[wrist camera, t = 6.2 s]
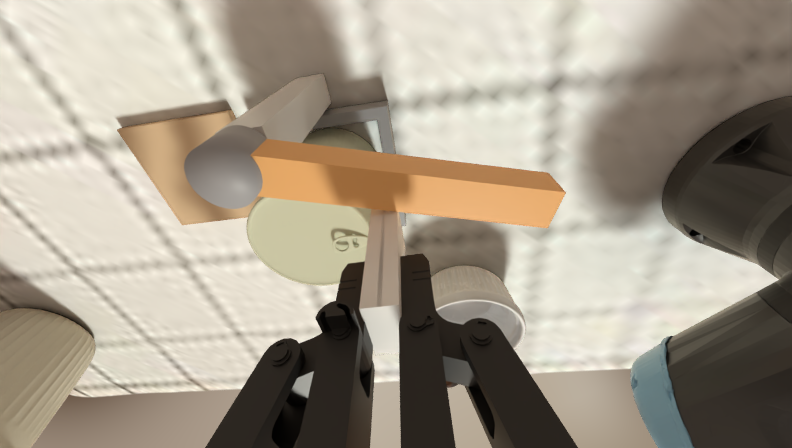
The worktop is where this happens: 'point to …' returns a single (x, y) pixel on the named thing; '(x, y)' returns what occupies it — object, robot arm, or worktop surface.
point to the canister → (37, 370)
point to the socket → (312, 114)
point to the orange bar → (365, 180)
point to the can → (311, 228)
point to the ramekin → (477, 300)
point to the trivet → (179, 162)
